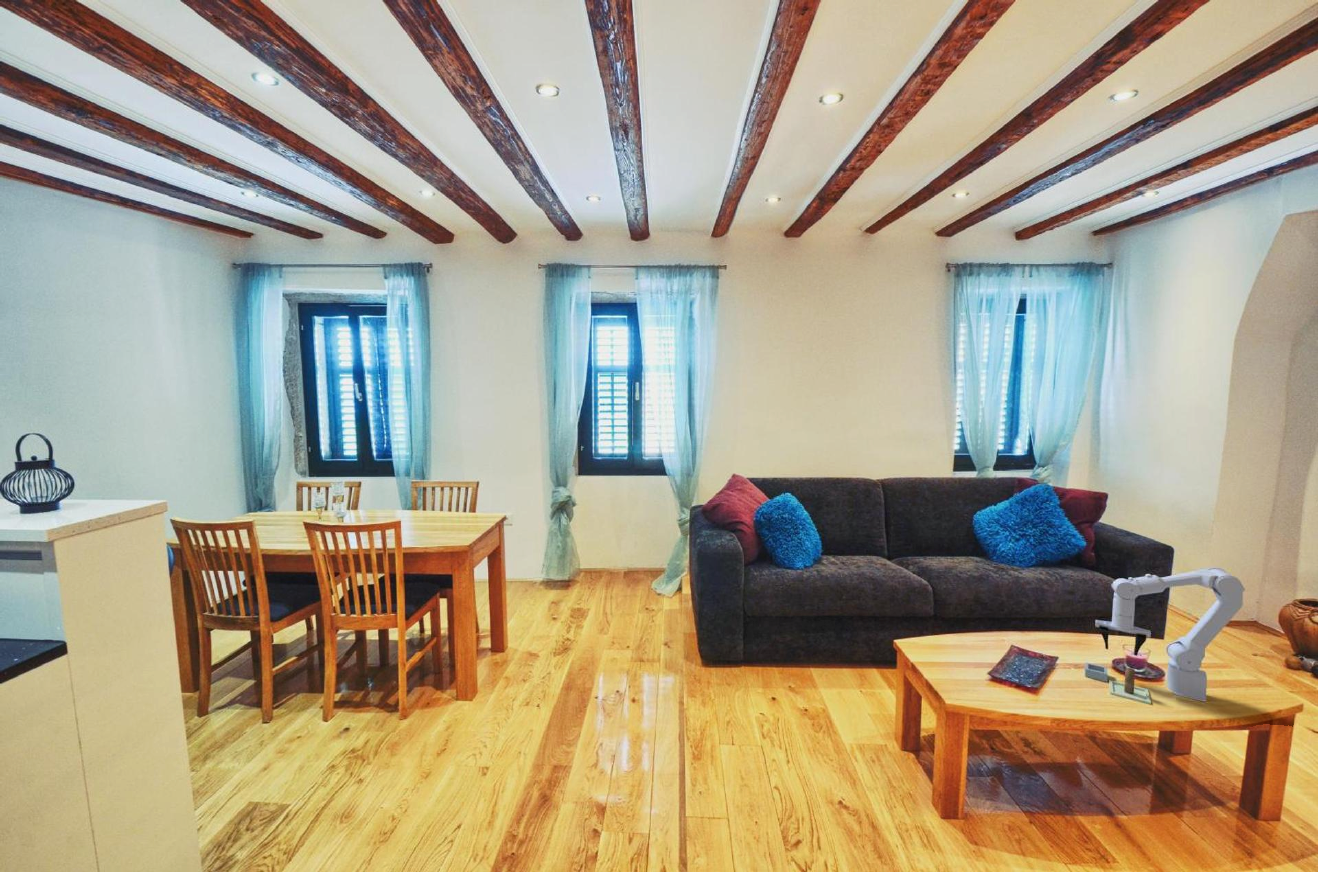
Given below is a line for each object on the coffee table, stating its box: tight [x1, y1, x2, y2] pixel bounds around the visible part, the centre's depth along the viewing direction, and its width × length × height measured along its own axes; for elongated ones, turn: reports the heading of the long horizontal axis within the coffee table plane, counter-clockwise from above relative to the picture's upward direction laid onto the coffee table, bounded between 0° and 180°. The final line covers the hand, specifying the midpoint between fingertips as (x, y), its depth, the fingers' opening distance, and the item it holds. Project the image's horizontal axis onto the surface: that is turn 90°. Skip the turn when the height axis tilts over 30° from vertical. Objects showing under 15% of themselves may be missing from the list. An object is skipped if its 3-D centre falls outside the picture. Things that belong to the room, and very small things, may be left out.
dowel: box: [1124, 667, 1136, 694], centre depth 178 cm, size 2×2×8 cm
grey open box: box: [1084, 662, 1109, 683], centre depth 189 cm, size 6×6×3 cm
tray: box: [1108, 679, 1152, 705], centre depth 179 cm, size 10×10×1 cm
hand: (1120, 651), depth 187 cm, fingers open, 7 cm apart
